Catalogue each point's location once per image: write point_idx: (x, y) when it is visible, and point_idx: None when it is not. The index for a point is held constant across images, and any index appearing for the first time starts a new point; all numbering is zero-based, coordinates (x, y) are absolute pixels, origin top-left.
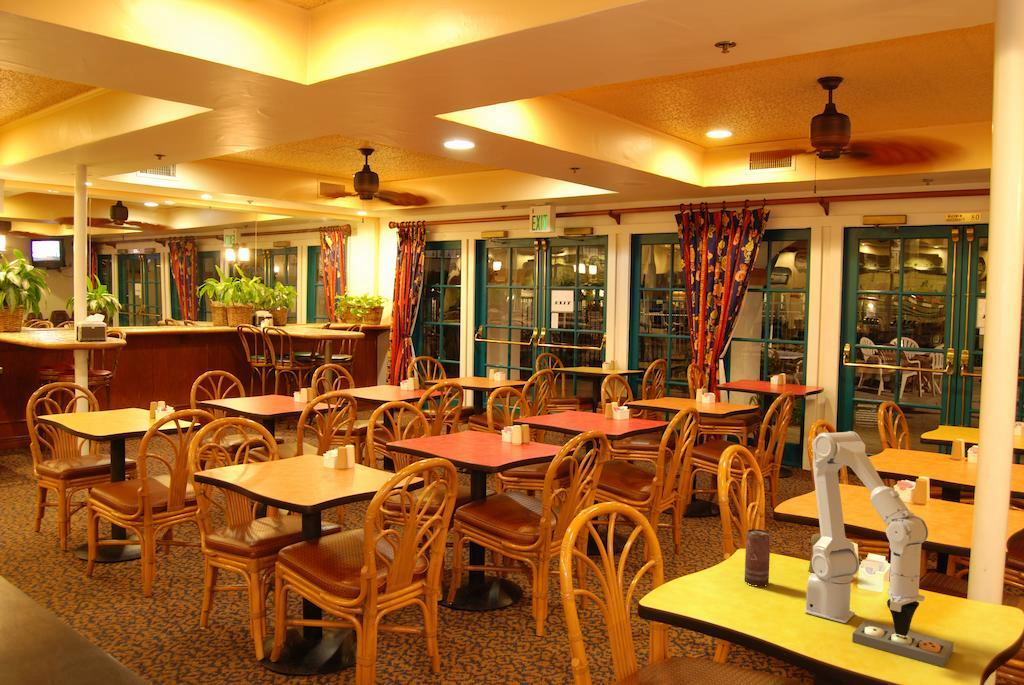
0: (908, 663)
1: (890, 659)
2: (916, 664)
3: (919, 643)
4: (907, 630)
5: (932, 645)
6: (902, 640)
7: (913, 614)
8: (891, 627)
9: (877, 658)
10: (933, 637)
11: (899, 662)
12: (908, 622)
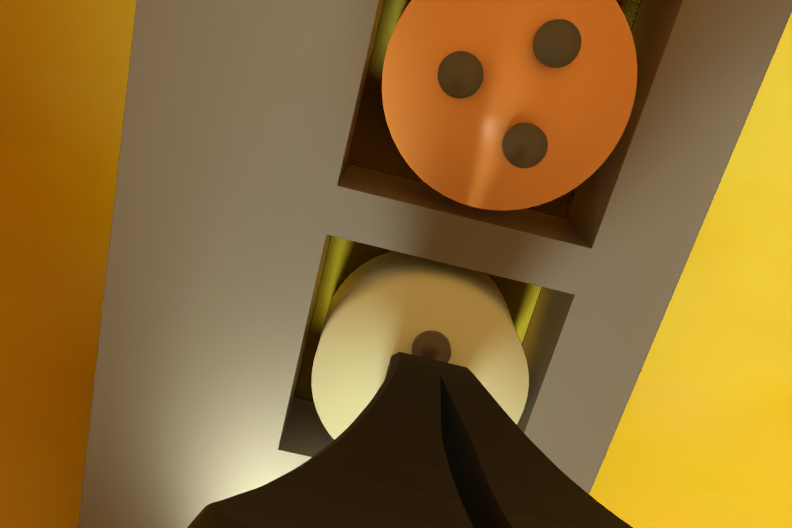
0: (772, 279)
1: (733, 418)
2: (771, 211)
3: (522, 207)
4: (491, 397)
5: (553, 56)
6: (516, 380)
7: (344, 458)
8: (122, 456)
9: (749, 508)
10: (148, 15)
11: (776, 352)
12: (563, 478)
